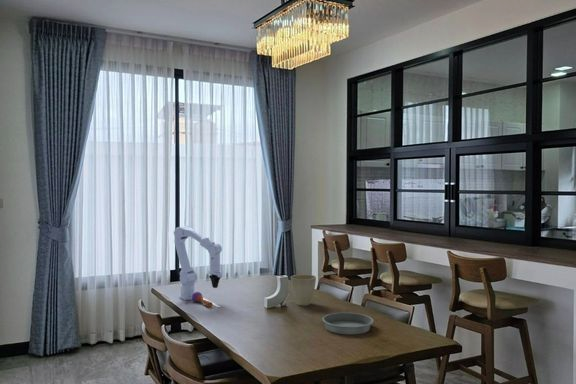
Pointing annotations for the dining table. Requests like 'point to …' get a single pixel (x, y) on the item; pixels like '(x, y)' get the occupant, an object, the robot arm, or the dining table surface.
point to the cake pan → (347, 323)
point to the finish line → (212, 302)
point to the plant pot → (303, 288)
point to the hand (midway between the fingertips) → (215, 287)
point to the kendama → (201, 299)
